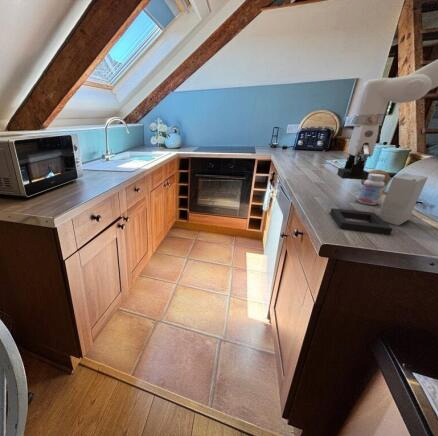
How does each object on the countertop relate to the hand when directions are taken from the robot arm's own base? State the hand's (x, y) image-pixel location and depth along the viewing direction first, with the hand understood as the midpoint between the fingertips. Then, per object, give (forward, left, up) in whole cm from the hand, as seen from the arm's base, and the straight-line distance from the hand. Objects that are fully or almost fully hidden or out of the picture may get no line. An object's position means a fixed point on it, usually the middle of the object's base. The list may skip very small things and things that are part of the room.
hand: (352, 173), depth 88 cm
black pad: (0, 0, -1) cm, 1 cm away
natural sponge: (-18, -30, -13) cm, 37 cm away
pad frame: (-1, +16, -13) cm, 21 cm away
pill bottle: (-11, -10, -13) cm, 20 cm away
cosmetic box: (-12, +9, -13) cm, 20 cm away
